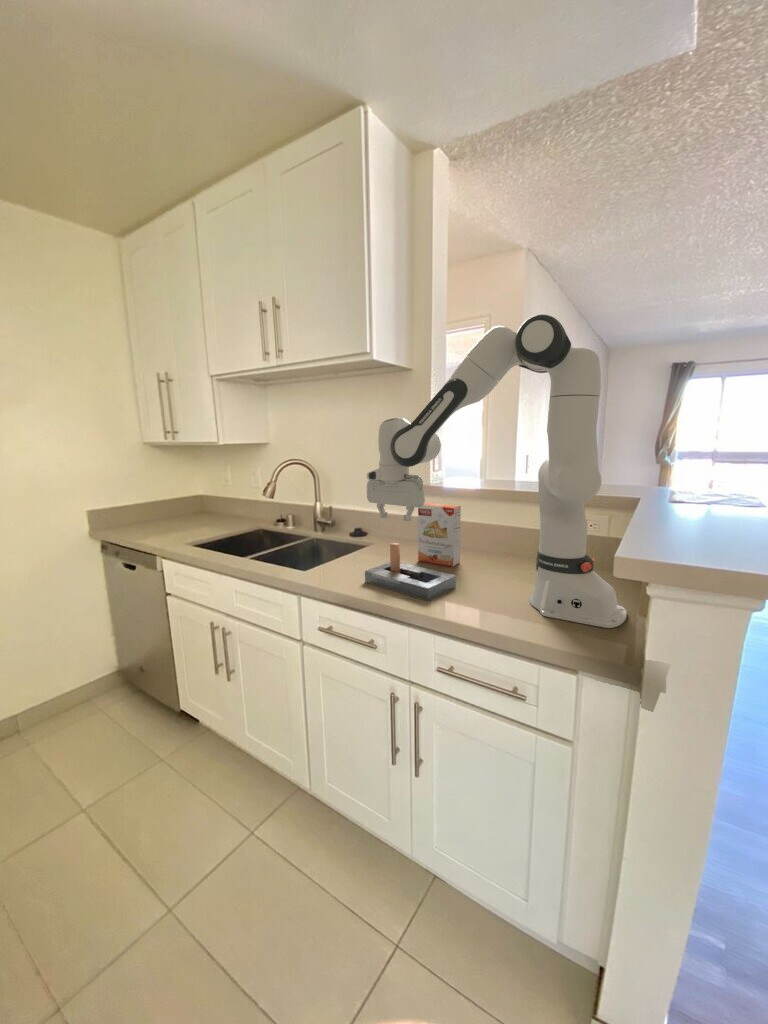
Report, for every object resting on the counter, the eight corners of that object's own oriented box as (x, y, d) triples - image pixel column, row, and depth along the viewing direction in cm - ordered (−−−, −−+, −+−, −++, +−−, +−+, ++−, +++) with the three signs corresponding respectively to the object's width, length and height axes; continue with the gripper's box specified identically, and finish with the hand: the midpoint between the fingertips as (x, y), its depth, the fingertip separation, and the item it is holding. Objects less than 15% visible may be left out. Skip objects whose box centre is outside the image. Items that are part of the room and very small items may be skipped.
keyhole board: (455, 587, 123) (455, 575, 123) (428, 601, 113) (428, 588, 112) (394, 571, 139) (394, 560, 138) (365, 582, 129) (364, 571, 128)
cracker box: (417, 561, 149) (417, 504, 146) (425, 557, 154) (425, 501, 150) (452, 567, 141) (453, 507, 138) (460, 563, 146) (461, 504, 143)
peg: (406, 577, 129) (406, 543, 128) (396, 582, 126) (395, 547, 124) (394, 574, 133) (393, 541, 131) (384, 578, 129) (383, 544, 127)
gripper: (428, 474, 119) (429, 521, 121) (376, 472, 133) (378, 514, 135) (415, 476, 114) (416, 524, 117) (362, 473, 128) (364, 517, 130)
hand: (395, 519), depth 126 cm, fingers open, 8 cm apart
